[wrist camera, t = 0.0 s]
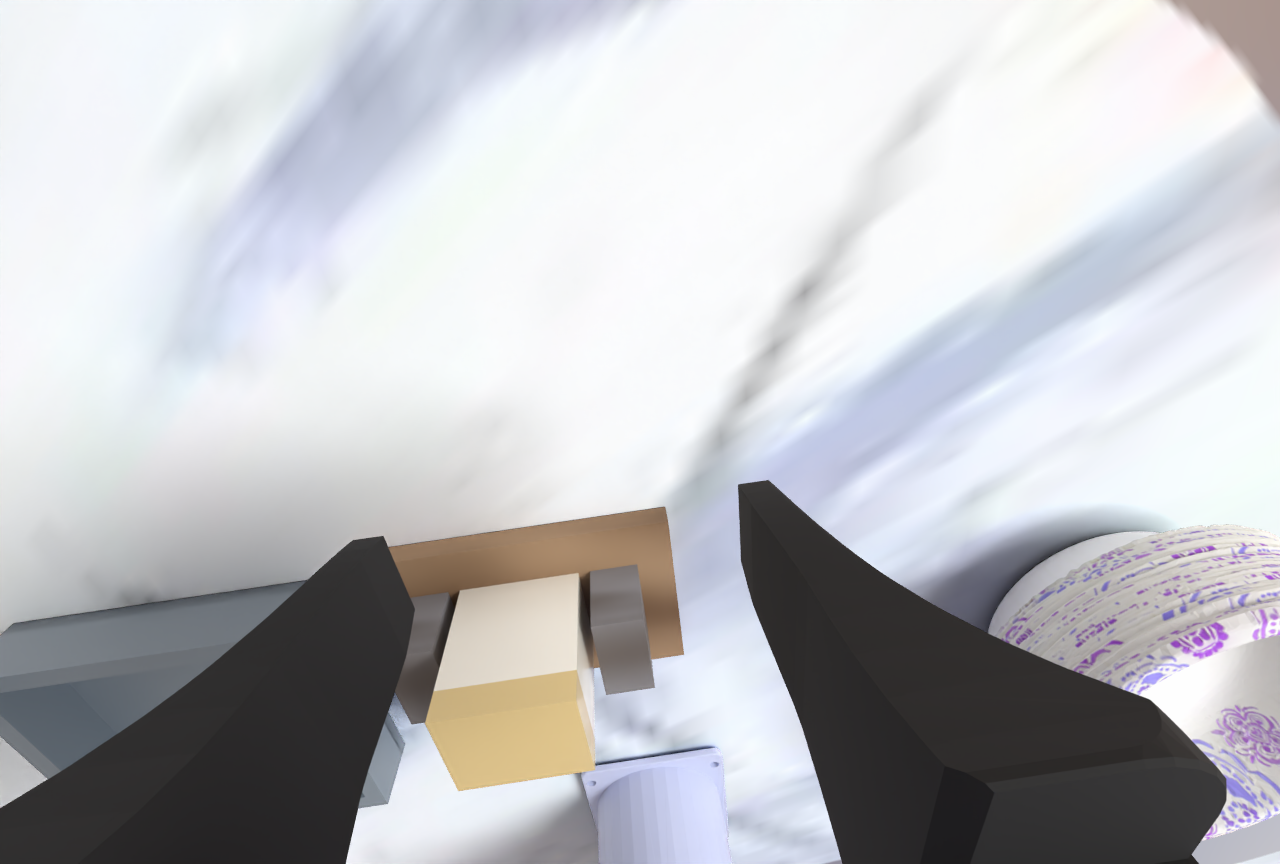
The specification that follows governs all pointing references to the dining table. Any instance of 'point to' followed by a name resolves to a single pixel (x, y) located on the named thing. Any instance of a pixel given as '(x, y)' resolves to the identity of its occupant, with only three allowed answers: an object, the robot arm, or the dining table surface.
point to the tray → (132, 674)
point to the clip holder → (593, 547)
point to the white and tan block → (516, 684)
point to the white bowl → (1173, 640)
